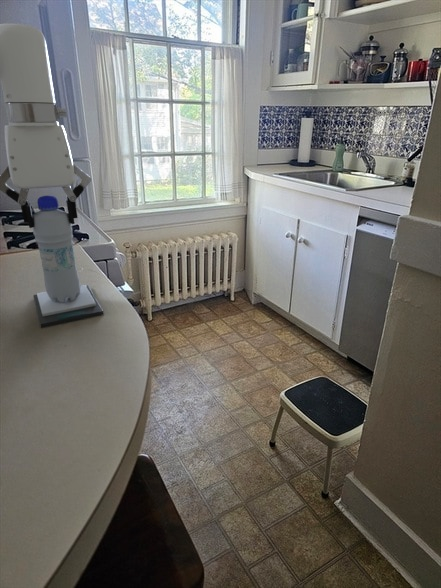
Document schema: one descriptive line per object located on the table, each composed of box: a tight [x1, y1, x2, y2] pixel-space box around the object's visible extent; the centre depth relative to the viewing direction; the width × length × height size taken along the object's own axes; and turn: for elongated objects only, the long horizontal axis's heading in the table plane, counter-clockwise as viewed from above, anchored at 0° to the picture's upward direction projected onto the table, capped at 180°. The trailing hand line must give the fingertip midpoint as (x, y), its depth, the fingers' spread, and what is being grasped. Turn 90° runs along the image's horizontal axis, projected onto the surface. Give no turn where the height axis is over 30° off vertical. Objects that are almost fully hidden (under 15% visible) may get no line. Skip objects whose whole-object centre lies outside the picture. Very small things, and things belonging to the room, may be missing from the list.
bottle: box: [32, 195, 81, 303], centre depth 73 cm, size 7×7×20 cm
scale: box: [33, 284, 105, 329], centre depth 77 cm, size 14×11×3 cm
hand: (52, 223), depth 71 cm, fingers closed on bottle, 6 cm apart
